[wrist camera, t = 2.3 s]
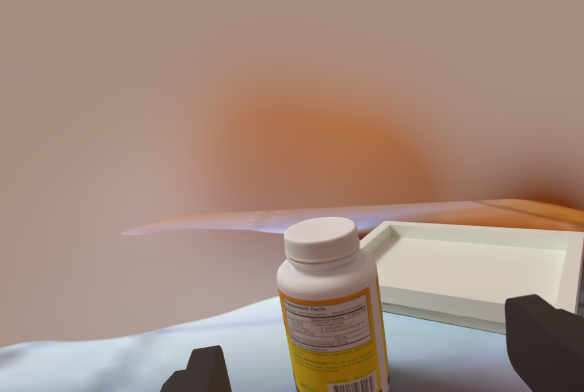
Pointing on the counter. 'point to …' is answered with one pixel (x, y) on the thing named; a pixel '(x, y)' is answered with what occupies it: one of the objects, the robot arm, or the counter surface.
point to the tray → (473, 270)
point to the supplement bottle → (332, 309)
